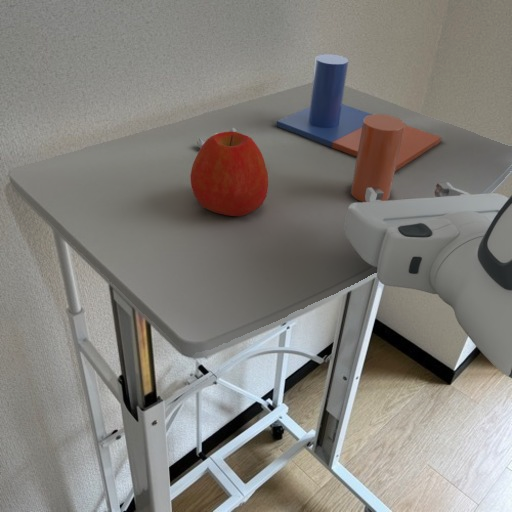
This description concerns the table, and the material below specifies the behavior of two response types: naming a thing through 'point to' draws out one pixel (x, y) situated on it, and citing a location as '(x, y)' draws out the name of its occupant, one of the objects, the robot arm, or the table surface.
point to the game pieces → (200, 142)
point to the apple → (229, 175)
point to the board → (356, 134)
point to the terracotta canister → (377, 155)
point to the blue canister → (327, 90)
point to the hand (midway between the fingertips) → (406, 189)
